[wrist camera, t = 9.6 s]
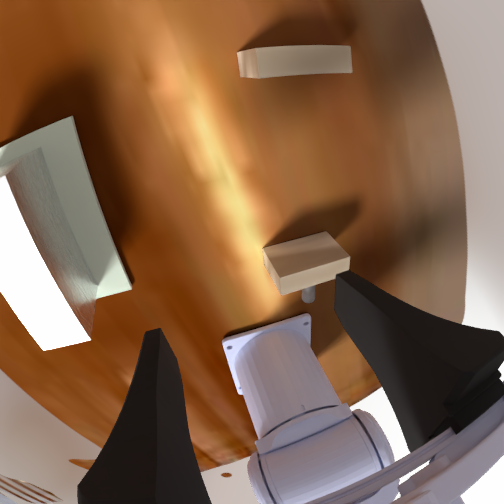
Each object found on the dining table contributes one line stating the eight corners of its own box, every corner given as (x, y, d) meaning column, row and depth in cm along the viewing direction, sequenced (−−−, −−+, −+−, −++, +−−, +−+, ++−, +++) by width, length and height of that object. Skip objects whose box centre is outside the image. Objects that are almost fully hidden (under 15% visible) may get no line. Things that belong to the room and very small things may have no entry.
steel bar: (98, 285, 19) (90, 339, 15) (56, 297, 19) (43, 350, 15) (40, 146, 14) (5, 175, 10) (-5, 168, 13) (-45, 202, 9)
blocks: (325, 271, 25) (346, 299, 22) (267, 289, 24) (283, 320, 22) (318, 47, 15) (350, 45, 13) (236, 52, 15) (255, 48, 12)
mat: (132, 285, 21) (131, 289, 20) (40, 310, 19) (39, 313, 19) (72, 115, 14) (70, 116, 13) (-31, 164, 12) (-34, 166, 12)
